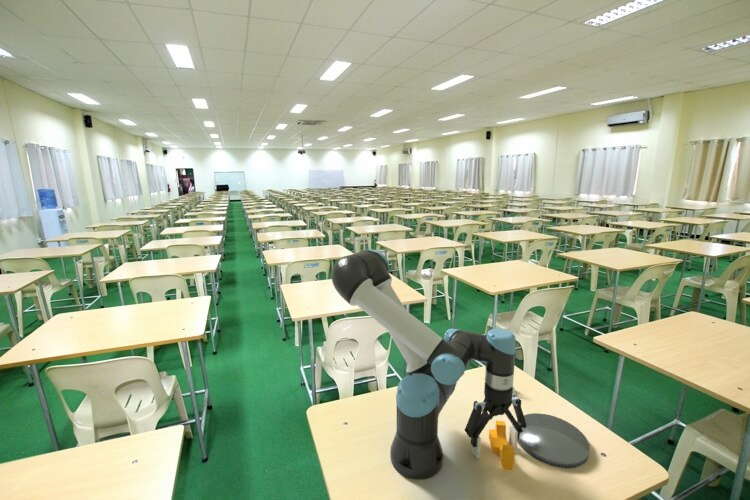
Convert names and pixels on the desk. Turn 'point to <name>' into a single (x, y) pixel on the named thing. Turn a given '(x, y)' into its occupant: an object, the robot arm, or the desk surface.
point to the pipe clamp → (501, 445)
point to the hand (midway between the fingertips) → (494, 451)
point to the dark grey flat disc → (553, 441)
